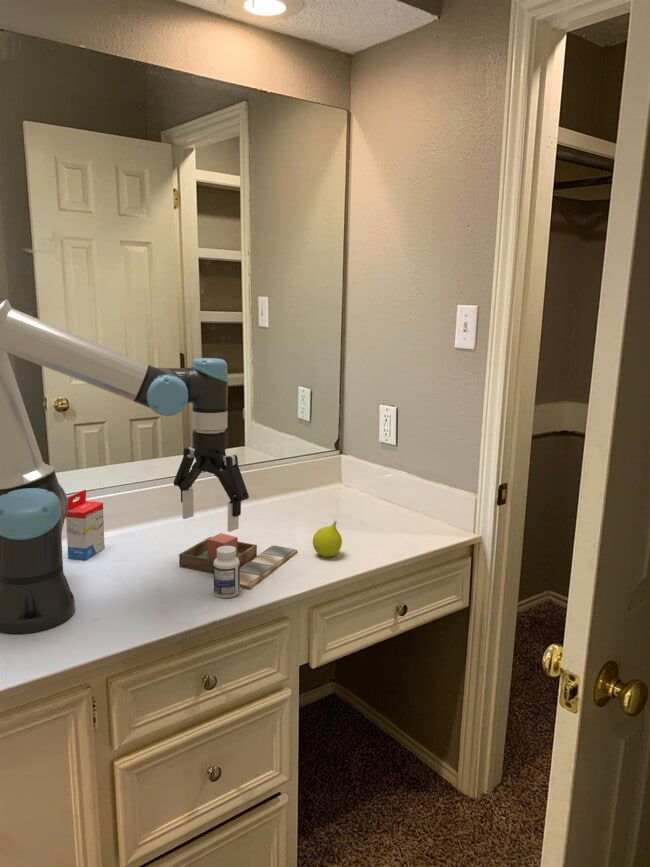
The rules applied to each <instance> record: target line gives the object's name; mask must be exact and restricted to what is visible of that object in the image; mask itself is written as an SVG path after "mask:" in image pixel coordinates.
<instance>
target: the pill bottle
mask: <svg viewBox="0 0 650 867" xmlns="http://www.w3.org/2000/svg"><path fill="white" fill-rule="evenodd" d="M235 556H236V548H235V547H233V546H221V547H219V548H217V558H216V559H215V560H214V563H213V571H214V573H213V594H214V595H215V596H216V597H217V598H222V599H229V598H233V597H236V596H238V595H239V594H240V589H241V588H240V562H239V559H238V558H237V557H235Z"/></svg>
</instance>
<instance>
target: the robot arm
mask: <svg viewBox="0 0 650 867" xmlns="http://www.w3.org/2000/svg"><path fill="white" fill-rule="evenodd" d="M8 354H10V355H13V356H16V357H19V358H21V359H24V360H26V361H28V362H32V363H34V364H36V365H39V366H41V367H44V368H47V369H49V370H52V371H55V372H57V373H60V374H62V375H65V376H68V377H70V378H73V379H75V380H78V381H81V382H84V383H85V384H89V385H90V386H93V387H96V388H99V389H102V390H104V391H106V392H108V393H112V394H114V395H116V396H119V397H122V398H124V399H127V400H130V401H133V402H134V403H135V404H139V405H142V406H144V407H147V408H149V409H151V410H152V411H153V412H154V413H156V414H158V415H161V416H164V417H170V416H171V417H172V416H176V415H178V414H179V413H181V412H183V411H184V409H185V408H186V406H187V405H188V404H191V406H192V421H191V422H192V429H193V431H192V446H189V447H185V448H184V449H183V457H182V460H181V463H180V465H179V468H178V470H177V472H176V475H175V478H174V480H173V486H176V487H178V488H179V490H180V502H181V504H182V519H184V520H186V519H189V518H193V517H194V515H195V514H194V511H195V510H194V488H193V484H194V483H195V482H196V480H197V479H198V478H199V476H200V475H201V473H202V472H204V473H205V472H208V473H209V474H213V475H214V477H216V478H217V479H218V481H219V482H220V484H221V486H222V487H223V489H224V491H225V493H226V495H227V497H228V498H229V500H230V501H227V532H230V533H231V532H233V531H236V530H238V529H239V525H240V524H239V519H240V518H239V516H241V514H242V501H246V500H248V499H249V498H250V495H249V493H248V490H247V487H246V484H245V481H244V478H243V476H242V472H241V469H240V467H239V461H238V455H237V454H233V455H227V454H226V450H227V447H228V432H227V428H228V414H229V413H228V408H229V407H228V405H229V404H228V401H229V399H228V398H229V396H228V395H229V376H228V375H229V374H228V364H227V362H226V360H224V359H222V358H215V357H213V358H212V357H204V358H203V357H202V358H201V357H199V358H194V359H192V363H191V367H182V368H181V367H180V368H179V367H156V366H155V367H154V366H151V365H149V364H148V363H145V362H142V361H140V360H137V359H135V358H133V357H130V356H128V355H126V354H123V353H121V352H118V351H117V350H114V349H111V348H109V347H107V346H104V345H101V344H99V343H96V342H94V341H92V340H89V339H87V338H85V337H83V336H80V335H78V334H75V333H72V332H70V331H68V330H65V329H63V328H61V327H58V326H56V325H54V324H51V323H48V322H46V321H44V320H42V319H40V318H37V317H34V316H32V315H29V314H27V313H25V312H22V311H20V310H17V309H15V308H13V307H12V306H11V304H10V301H9V300H8V299H6V298H4V297H2V296H1V295H0V632H1V633H5V634H29V633H34V632H35V633H36V632H40V631H45V630H48V629H51V628H54V627H56V626H59V625H60V624H63V623H65V622H66V621H67V620H69V619H70V618H71V617H72V616H73V615H74V613H75V611H76V606H75V605H76V604H75V603H76V600H75V596H74V594H73V592H72V591H71V587H70V584H69V583H68V580H67V578H66V575H65V573H64V562H63V560H64V559H63V557H64V556H63V541H62V540H63V536H62V534H63V533H62V532H63V528H64V524H65V521H66V515H67V511H68V499H67V498H68V496H67V493H66V492H65V490H64V488H63V487H62V486H61V484H60V483H59V480H58V476H57V475H56V471H55V468H54V467H53V466H52V465H49V464H46V463H45V462H44V461H43V457H42V455H41V451H40V448H39V446H38V442H37V440H36V436H35V433H34V430H33V428H32V424H31V421H30V418H29V415H28V412H27V410H26V407H25V404H24V401H23V396H22V395H21V390H20V388H19V386H18V385H19V384H18V383H17V380H16V377H15V376H16V375H15V373H14V371H13V368H12V364H11V361H10V359H9V355H8ZM194 460H195V462H194Z"/></svg>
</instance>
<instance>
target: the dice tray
mask: <svg viewBox="0 0 650 867" xmlns="http://www.w3.org/2000/svg"><path fill="white" fill-rule="evenodd" d="M211 537H212V536H209V537H207V538H205V539H203V540H202V541H200V542H198V543H197V544H195V545H193V546H191V547H189V548H187V549H186V550H184V551H183V552H180V553H179V554H178V556H179V557H178V559H179V561H178V562H179V566H178V567H180V568H185V569H189V570H195V571H199V572H204V573H205V572H206V573H209V574H214V571H213V563H214V560H213V559H208V558H207V539H208V538H211ZM256 556H258V545H257V544H254V543H253V544H252V543H248V542H242V541H238V556H237V558H238V559H239V562H240V568H241V567H242V566H243V565H245V564H246V563H248V562H249V561H251V560H252V559H253V558H255V557H256Z"/></svg>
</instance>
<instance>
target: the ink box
mask: <svg viewBox="0 0 650 867" xmlns="http://www.w3.org/2000/svg"><path fill="white" fill-rule="evenodd" d="M76 498H78V499H77V500H75V499H76ZM67 499H68V511H67V515H66V518H65V523H66V524H65V525H66V541H67V559H72V560H81V561H83V560H84V561H88V560H89V559H90V558H92V557H93V556H95V555H96V554H98V553H100V552H101V551H103V550H105V548H106V546H105V526H104V524H105V523H104V521H105V520H104V518H105V517H104V502H100V501H94V500H93V501H92V500H91V501H90V500H88V501H87V490H86V489H83V490H81V491H78V492H76V493H74V494H73V495H70V496H67ZM74 500H75V501H74Z"/></svg>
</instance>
